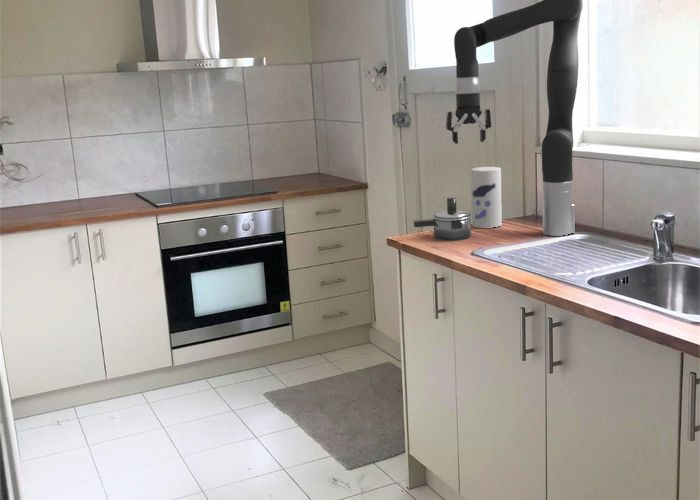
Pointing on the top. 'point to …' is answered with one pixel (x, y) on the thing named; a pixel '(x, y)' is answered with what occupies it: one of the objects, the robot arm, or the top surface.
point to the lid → (451, 211)
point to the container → (486, 197)
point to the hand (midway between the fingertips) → (469, 142)
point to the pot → (448, 227)
